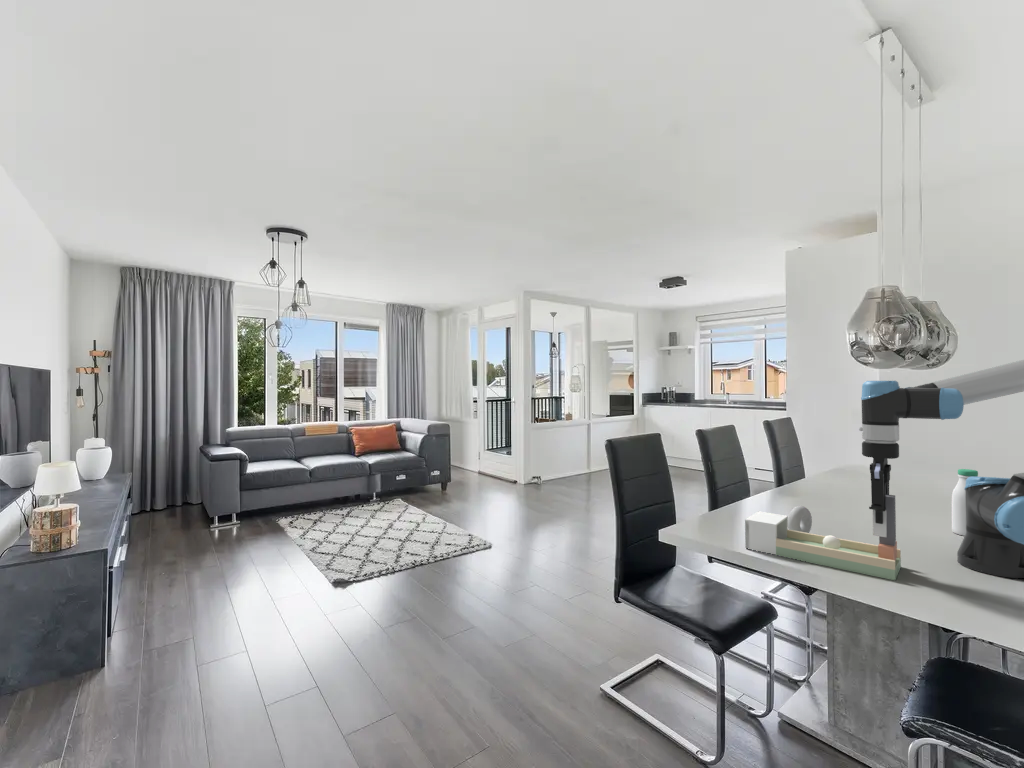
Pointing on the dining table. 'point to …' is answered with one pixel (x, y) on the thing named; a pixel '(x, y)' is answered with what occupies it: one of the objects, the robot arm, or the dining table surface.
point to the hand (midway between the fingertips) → (880, 534)
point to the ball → (831, 542)
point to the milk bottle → (960, 502)
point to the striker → (889, 532)
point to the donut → (800, 519)
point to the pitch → (815, 547)
